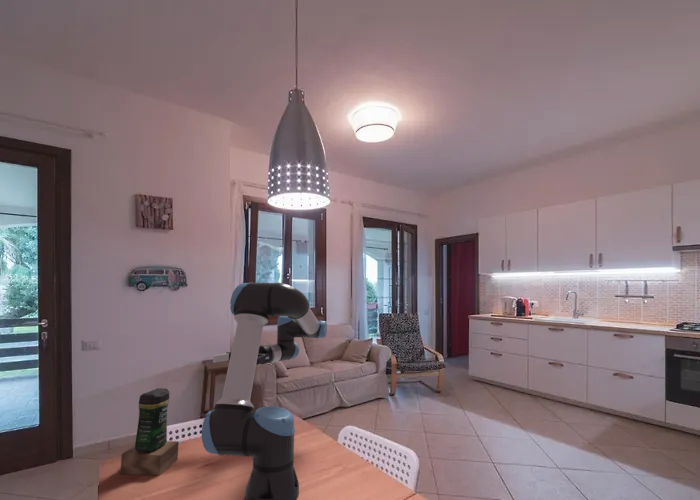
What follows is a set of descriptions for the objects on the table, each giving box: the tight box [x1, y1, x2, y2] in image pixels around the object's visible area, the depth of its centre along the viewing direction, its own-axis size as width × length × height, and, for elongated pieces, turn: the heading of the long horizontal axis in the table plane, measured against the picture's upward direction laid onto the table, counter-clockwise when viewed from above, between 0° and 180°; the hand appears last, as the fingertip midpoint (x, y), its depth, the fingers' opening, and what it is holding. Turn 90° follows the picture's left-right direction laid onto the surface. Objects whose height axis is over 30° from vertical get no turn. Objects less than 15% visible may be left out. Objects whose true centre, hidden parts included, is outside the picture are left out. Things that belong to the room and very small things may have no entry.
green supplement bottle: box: [134, 387, 170, 452], centre depth 125 cm, size 10×8×19 cm
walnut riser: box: [119, 440, 179, 476], centre depth 123 cm, size 13×11×6 cm
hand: (223, 361), depth 140 cm, fingers open, 13 cm apart
